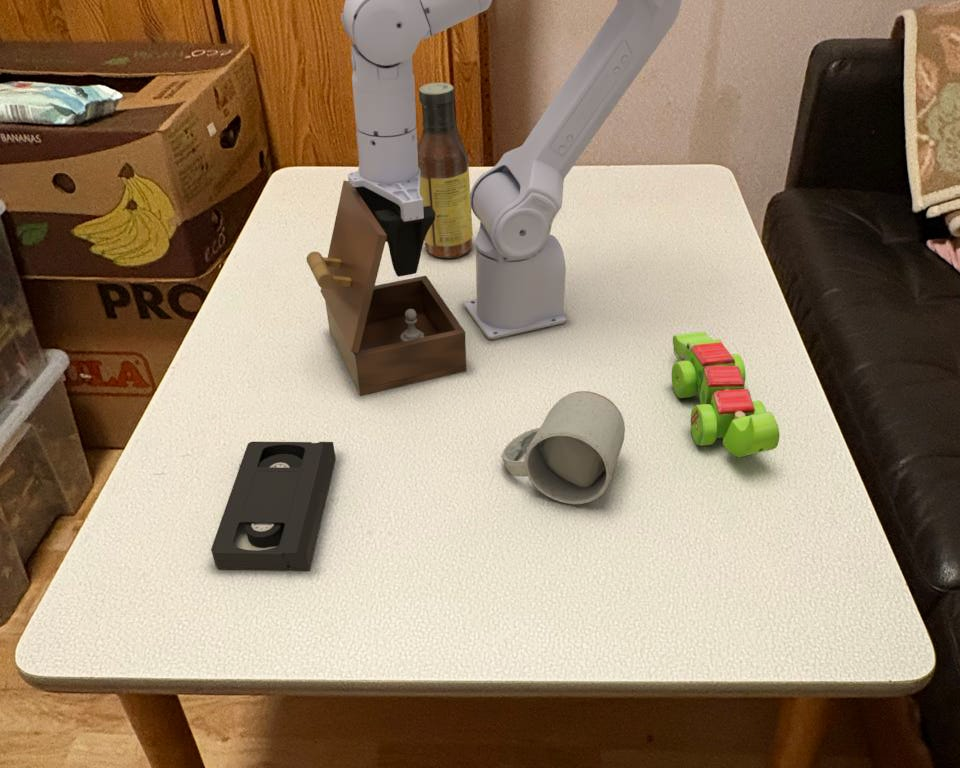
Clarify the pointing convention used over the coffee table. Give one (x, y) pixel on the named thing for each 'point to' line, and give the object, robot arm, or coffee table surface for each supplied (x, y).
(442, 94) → the sauce bottle
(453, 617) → the coffee table surface
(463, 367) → the box
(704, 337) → the toy crocodile
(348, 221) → the lid
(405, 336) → the pawn
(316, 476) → the vhs tape
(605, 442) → the ceramic mug
